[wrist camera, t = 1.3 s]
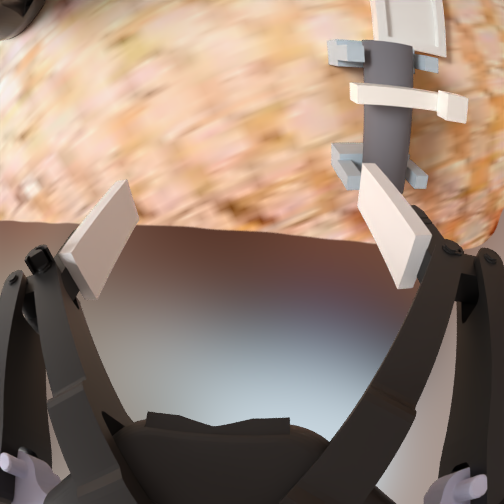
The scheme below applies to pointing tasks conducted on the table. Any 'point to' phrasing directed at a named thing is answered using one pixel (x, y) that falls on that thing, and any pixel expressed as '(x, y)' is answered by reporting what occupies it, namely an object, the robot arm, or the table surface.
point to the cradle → (351, 154)
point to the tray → (410, 24)
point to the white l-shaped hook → (412, 99)
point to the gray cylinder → (388, 109)
